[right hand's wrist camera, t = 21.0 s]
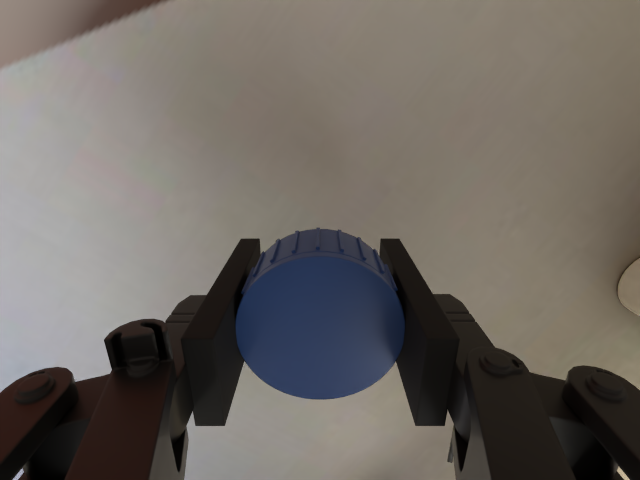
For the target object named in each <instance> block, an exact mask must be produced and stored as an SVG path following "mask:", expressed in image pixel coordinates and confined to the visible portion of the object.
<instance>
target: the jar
mask: <svg viewBox="0 0 640 480" xmlns="http://www.w3.org/2000/svg"><path fill="white" fill-rule="evenodd" d="M618 297H619V300H620V302H621V303H622V305H623V306H624V307H625V308H627V309H628V310H630V311H631V312H633V313H635V314H636V315H638V316H639V317H640V258H639V259H637V260H636V261H634V262H633V263H632V264H631V265H630V266H629V267H628V268H627V269H626V271H625V272H624V273H623V275H622V277H621V279H620V281H619V284H618Z"/></svg>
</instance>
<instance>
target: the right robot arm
mask: <svg viewBox="0 0 640 480" xmlns="http://www.w3.org/2000/svg"><path fill="white" fill-rule="evenodd" d="M260 256H261V253H260V239H241V240H240V241H239V243H238V245H237V246H236V248H235V250H234V251H233V253H232V255H231V256H230V258H229V259H228V261H227V263H226V264H225V266H224V268H223V269H222V271H221V273H220V274H219V276H218V278H217V279H216V281H215V283H214V284H213V286H212V288H211V289H210V291H209V292H208V294H207V295H190V296H189V297H187V298H186V299H184V300H183V301H181V302H180V303H178V305H177V306H176V307H175V309H174V310H173V312H172V313H171V315H170V316H169V317H168V319H167V320H166V323H164V322H163V321H161V320H157V319H141V320H137V321H132V322H129V323H127V324H124V325H122V326H120V327H118V328H117V329H115V330H114V331H112V332H110V333H109V335H108V336H107V337H106V338H105V339H104V342H105V346H106V349H107V353H108V357H109V360H110V364H111V368H112V371H111V373H110V374H108V375H104V376H100V377H96V378H91V379H87V380H82V381H77V382H75V380H74V377H73V374H72V372H71V371H69V370H68V369H67V368H61V367H54V368H46V369H42V370H38V371H35V372H32V373H30V374H28V375H26V376H24V377H22V378H20V379H18V380H16V381H15V382H14V383H12V384H11V385H9V386H8V387H7V388H5V389H4V390H3V391H2V392H1V393H0V480H12V479H13V478H14V477H15V476H16V475H17V473H18V472H19V471H20V470H21V468H23V470H24V473H23V474H22V476H21V477H20V478H19V479H18V480H184V476H185V467H186V458H187V449H188V433H187V427H186V425H187V423H188V421H189V418H190V416H191V413H192V411H193V414H194V419H195V425H196V426H225V423H226V420H227V416H228V413H229V410H230V407H231V403H232V400H233V397H234V393H235V390H236V387H237V383H238V380H239V377H240V373H241V370H242V367H243V363H244V359H243V357H242V355H241V353H240V350H239V348H238V345H237V338H236V328H235V318H236V314H237V309H238V307H239V304H240V302H241V299H242V297H243V294H241V292H242V290H243V287H244V285H245V283H246V281H247V278H248V276H249V274H250V271H251V269H252V267H254V268H255V266H256V264H257V263H258V261H259V258H260ZM379 257H380V258H381V260H382V261H383V263H384V265H385V264H387V265H388V268H389V270H390V272H391V275H392V277H393V280H394V282H395V284H396V287H397V289H398V290H397V291H396V293H397V295H398V298H399V300H400V302H401V305H402V309H403V312H404V317H405V333H404V342H403V346H402V350H401V352H400V354H399V356H398V358H397V360H396V363H397V366H398V369H399V372H400V376H401V379H402V382H403V386H404V389H405V392H406V396H407V399H408V402H409V406H410V409H411V412H412V416H413V419H414V422H415V426H445V421H446V415H447V409H448V411H449V414H450V416H451V418H452V421H453V423H454V427H453V433H452V438H451V443H450V449H449V454H448V461H447V462H451V463H452V461H453V457H454V466H455V475H456V480H624V479H623V478H622V477H621V476H620V474H619V473H618V472H617V469H618V467H620V468H621V469H622V470H623V472H624V473H625V474H626V475H627V476H628V478H629V479H630V480H640V390H639V389H638V388H636V387H635V386H634V385H632V384H631V383H630V382H628V381H627V380H625V379H624V378H622V377H620V376H618V375H616V374H614V373H612V372H610V371H607V370H603V369H601V368H597V367H591V366H577V367H573V368H572V369H571V370H570V371H569V372H568V375H567V378H566V381H565V380H561V379H556V378H551V377H547V376H542V375H538V374H534V373H531V372H529V370H528V369H527V367H526V366H525V364H524V363H523V362H522V361H521V360H520V359H518V358H517V357H516V356H514V355H513V354H511V353H509V352H507V351H504V350H502V349H498V348H495V347H494V345H493V344H492V343H491V341H490V340H489V339H488V337H487V336H486V334H485V333H484V332H483V330H482V329H481V328H480V326H479V325H478V324H477V322H475V319H474V318H473V317H472V315H471V314H469V311H468V310H467V308H466V307H465V306H464V304H463V303H462V302H461V301H459V300H458V299H456V298H455V297H453V296H452V295H450V294H432V292H431V290H430V289H429V287H428V285H427V284H426V282H425V281H424V279H423V277H422V276H421V274H420V272H419V271H418V269H417V267H416V266H415V264H414V262H413V261H412V259H411V257H410V256H409V254H408V253H407V251H406V249H405V248H404V246H403V244H402V243H401V241H400V239H381V241H380V256H379Z"/></svg>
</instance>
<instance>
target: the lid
mask: <svg viewBox="0 0 640 480" xmlns="http://www.w3.org/2000/svg"><path fill="white" fill-rule="evenodd" d="M397 290H398V289H397V287H396V284H395V282H394V280H393V277H392V275H391V272H390V270H389V268H388V265H387V264H385V265H384V263H383V261H382V260H381V258H380V257H379V255H378V253H377V250H376V249H374V250H373V249H372V248H371V247H370V246H368V245H367V244H366V243H364V242H363V241H361V238H359V237H358V238H356V237H354V236H351V235H349V234H347V233H343V232H341V230H338V231H335V230H328V229H320V228H317V229H313V230H305V231H301V232H299V231H295V233H294V234H292V235H289V236H287V237H285V238H283V239H281V240H280V239H278V240H276V243H275V244H274V245H272V246H271V247H270V248H269V249H268V250H267V251H266V252H264V251H263V252H262V253H261V256H260V258H259V261H258V263H257V264H256V266H255V268H254V267H252V269H251V271H250V274H249V276H248V278H247V281H246V283H245V285H244V287H243V290H242V292H241V294H243V297H242V299H241V302H240V304H239V307H238V309H237V314H236V318H235V328H236V338H237V345H238V348H239V350H240V353H241V355H242V357H243V359H244V360H245V362H246V364H247V365H248V366H249V367H250V369H251V370H252V371H253V372H254V373H255V374H256V375H257V376H258V377H259V378H260V379H261V380H263V381H264V382H265V383H267V384H268V385H270V386H272V387H273V388H275V389H277V390H279V391H282V392H284V393H287V394H290V395H293V396H296V397H301V398H307V399H334V398H340V397H345V396H348V395H351V394H354V393H357V392H359V391H362V390H364V389H366V388H367V387H369V386H371V385H373V384H374V383H375V382H377V381H378V380H379V379H381V378H382V377H383V376H384V375H385V374H386V373H387V372H388V371H389V370H390V368H391V367H392V366H393V365H394V363H395V361H396V360H397V358H398V356H399V354H400V352H401V350H402V346H403V342H404V333H405V317H404V312H403V309H402V305H401V302H400V300H399V298H398V295H397V293H396V291H397Z"/></svg>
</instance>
